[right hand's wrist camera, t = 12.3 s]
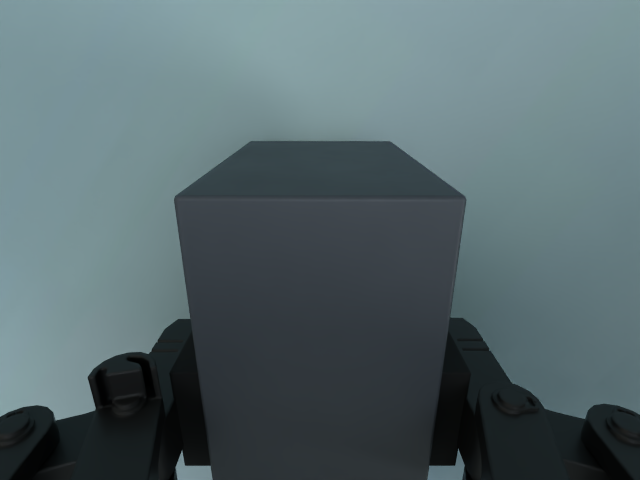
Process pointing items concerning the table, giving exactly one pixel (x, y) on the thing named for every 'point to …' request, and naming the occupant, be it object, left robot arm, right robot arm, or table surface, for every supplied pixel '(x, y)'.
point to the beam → (320, 308)
